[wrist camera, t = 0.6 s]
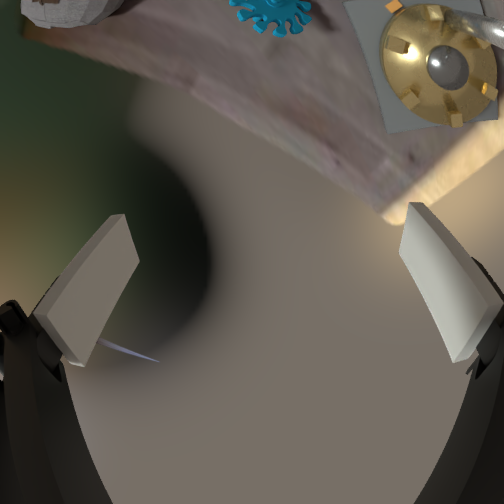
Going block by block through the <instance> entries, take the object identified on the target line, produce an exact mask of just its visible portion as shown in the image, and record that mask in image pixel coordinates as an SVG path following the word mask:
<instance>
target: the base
mask: <svg viewBox="0 0 504 504" xmlns="http://www.w3.org/2000/svg"><path fill="white" fill-rule="evenodd" d="M342 3H343V6H344V8H345V10H346V12H347V14H348V17H349V19H350V21H351V24H352V26H353V28H354V31H355V33H356V36H357V38H358V41H359V44H360V46H361V49H362V52H363V54H364V57H365V60H366V63H367V66H368V69H369V72H370V75H371V78H372V81H373V85H374V88H375V91H376V95H377V98H378V102H379V106H380V109H381V113H382V117H383V121H384V126H385V130H386V132H387V134H392V133H397V132H403V131H409V130H415V129H421V128H427V127H434V126H441V124H436V123H432V122H430V121H427V120H425V119H423V118H421V117H419V116H417V115H416V114H414V113H413V112H412V111H410V110H409V109H408V108H407V107H406V106H405V105H404V104H403V103H402V102H401V100H400V99H399V98H398V97H397V96H396V94H395V93H394V92H393V91H392V89H391V88H390V86H389V85H388V83H387V81H386V79H385V77H384V74H383V71H382V68H381V64H380V58H379V43H380V38H381V34H382V31H383V29H384V27H385V25H386V23H387V22H388V21H389V19H390V18H391V17H392V16H393V15H394V14H395V13H396V12H398V11H399V10H401V9H403V8H405V7H407V6H410V5H413V4H420V3H429V4H438V5H443V6H447V7H450V8H453V9H456V10H462V11H467V12H471V13H476V14H480V15H484V14H483V10H482V7H481V3H480V0H352V1H347V2H342ZM495 89H496V87H495ZM486 120H498V103H497V97H496V99H495V101H493V100H492V99H491V100H490V102H489V104H488V105H487V106H486V108H485V109H484V110H483V111H482V112H481V113H480V114H479V115H477V116H476V117H474V118H473V119H471V120H469V121H467V122H475V121H486ZM464 123H466V122H464Z"/></svg>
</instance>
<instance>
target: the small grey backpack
mask: <svg viewBox="0 0 504 504" xmlns="http://www.w3.org/2000/svg"><path fill="white" fill-rule="evenodd" d="M123 2H124V0H21V13H22V14H24V15H26V16H27V17H28V18H29V19H30V20H31V21H33V22H34V23H35V25H36V26H39V27H44V28H49V29H50V28H54V27H65V28H72V27H76V26H81V25H96V24H98V23H99V22H100V21H102V20H103V19H105V18H106V17H108V16H109V15H110V14H111V13H113V12H114V11H115V10H117V9H118V8H120V6H121V5H122V3H123Z"/></svg>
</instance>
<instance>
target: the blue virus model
mask: <svg viewBox="0 0 504 504" xmlns="http://www.w3.org/2000/svg"><path fill="white" fill-rule="evenodd" d="M229 5H231V6H244V7H247V8H249V9H251V10H252V11H253V12H250V11H248V10H245V9H241V10H239V12H238V13H237V16H238V18H239V20H240V21H246V20H247V19H249V18H252V17H253V21H254V22H256V24H255V25H254V26H253V28H254V29H255V30H256V31H257V32H259V33H263V32H264V31H265V30H266V29H267V25H268V24H269V23H271V22H275V23H277V24H278V27H277V28H276V29H275V30H274V31H273V35H275V36H277V37H284V36H285V35H286V34H287V31H286V29H285V21H288V22H289V23H290V24H291V27H290V32H291V33H292V34H298V33H300V32H302V31H303V28H302V26H301V25H300V24H299V23H298V22H297V21H296V19H295V15H296V16H297V17H298V18H299V21H300V23H301V24H302V25H306V24H307V23H309V22H310V21H311V20H312V18H311V17H310V16H309V15H306V14H304V13H303V12H301V11H300V10H299V9H298V8H297V6H298V7H299V8H300V9H301V10H302V11H304V12H308V11H309V10H310V9H311V4H310V3H309V2H303V1H299V0H248V1H246V0H230V2H229ZM261 19H263V20H264V21H260V20H261Z"/></svg>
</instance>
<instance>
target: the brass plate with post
mask: <svg viewBox="0 0 504 504" xmlns="http://www.w3.org/2000/svg"><path fill="white" fill-rule="evenodd" d="M491 44H493V45H495V46H497V47H500V48H502V49H504V21H502V20H499V19H495V18H492V17H488V16H484V15H480V14H476V13H471V12H467V11H462V10H456V9H453V8H450V7H447V6H443V5H438V4H429V3H420V4H413V5H410V6H407V7H405V8H403V9H401V10H399V11H398V12H396V13H395V14H394V15H393V16H392V17H391V18H390V19H389V21H388V22H387V23H386V25H385V27H384V29H383V31H382V34H381V38H380V43H379V58H380V64H381V68H382V71H383V74H384V77H385V79H386V81H387V83H388V85H389V86H390V88H391V89H392V91H393V92H394V93H395V94H396V96H397V97H398V98H399V99H400V100H401V102H402V103H403V104H404V105H405V106H406V107H407V108H408V109H409V110H410V111H412V112H413V113H414V114H416V115H417V116H419V117H421V118H423V119H425V120H427V121H430V122H432V123H436V124H441V125H450V126H451V127H452V128H456V127H463V123H464V122H467V121H469V120H471V119H473V118H474V117H476V116H477V115H479V114H480V113H481V112H482V111H483V110H484V109H485V108H486V106H487V105H488V104H489V102H490V100H491V99H492V100H493V101H495V99H496V97H497V94H498V90H497V89H495V87H496V81H497V66H496V60H495V56H494V53H493V50H492V48H491Z"/></svg>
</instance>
